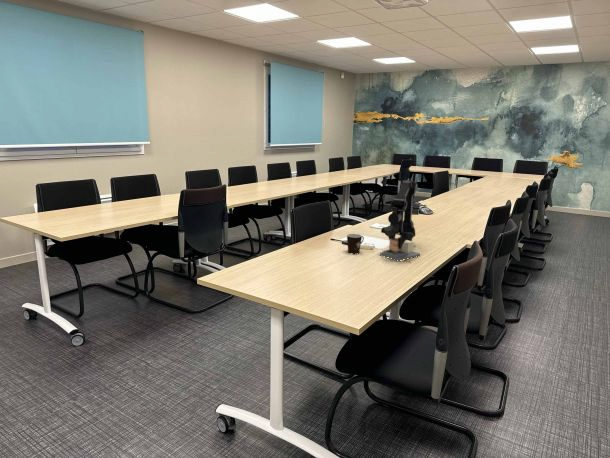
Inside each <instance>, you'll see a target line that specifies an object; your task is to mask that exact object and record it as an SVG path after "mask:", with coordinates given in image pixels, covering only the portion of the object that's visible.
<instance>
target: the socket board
mask: <svg viewBox="0 0 610 458" xmlns="http://www.w3.org/2000/svg"><path fill="white" fill-rule="evenodd" d="M414 250H415V241H413V240H412V241H409V240H405V242H404V243H403V245H402V250H401V251H397V252H395V251H392V250H389V249H386V250H383V251H382V252H380V253H379V256H380V255H382V256H381V257H383V256H385V257H384V258H386V257H389V258H392V259H395V260H398V261H400V260H403V259H407V258H411V257H416V256H420V257H421V253H419V252H415V251H414ZM389 258H388V259H389ZM416 258H417V257H416ZM392 259H391V260H392ZM395 260H394V261H395ZM398 261H397V262H398ZM400 262H401V261H400Z"/></svg>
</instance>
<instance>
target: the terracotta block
mask: <svg viewBox="0 0 610 458" xmlns="http://www.w3.org/2000/svg"><path fill="white" fill-rule="evenodd" d="M398 238H399V237H395V238H393V239H390V240H389V246H388V247H389V249H388V250H392V251H395V252H397V251H401V250H402V247H401V249H399V240H398Z"/></svg>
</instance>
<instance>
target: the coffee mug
mask: <svg viewBox="0 0 610 458" xmlns="http://www.w3.org/2000/svg"><path fill="white" fill-rule="evenodd" d="M364 239H365V237H364V236H363V235H362V234H358V233H348V234H347V235H346V240H347V252H349V253H348V254H350V253H353V254H352V255H356V254H355V253H358V254H360V250H361V245H362V244H363V242H364Z"/></svg>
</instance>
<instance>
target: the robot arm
mask: <svg viewBox="0 0 610 458" xmlns="http://www.w3.org/2000/svg"><path fill="white" fill-rule="evenodd" d="M417 190H418V183H417V182H415V181H411V180H406V179H404V180H402V181H401V185H400V189H399V192H398V193H397V194H396V195H394V197H393V198H392V199H391V202H390V206H389V211H391V213H390V214H389V216H388V217H387V220H388V222H389V224H390V225H388V226H384V227H382V228H381V230H380V233H382V234H384V235H386V237H388V241H390V239H393V238H396V235H398V236H399V237H397V238H398V240H399V249H401V247H402V245H403V243H404V242H405V240H409V241H413V239H414V237H416V229H415V223H414V221H413V220H412V216H413V215H412V214H413V202H414V201H413V200H414V195H415V194H416V193H417Z"/></svg>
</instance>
